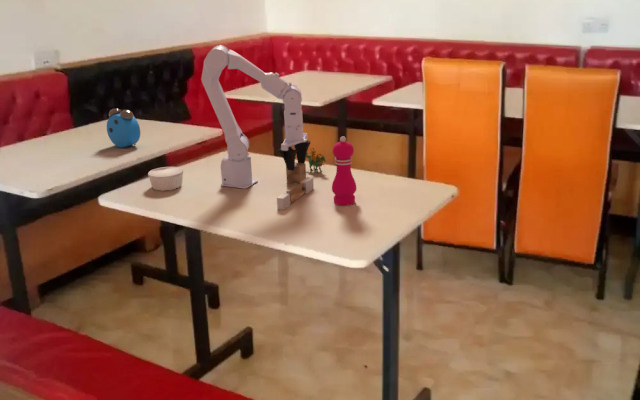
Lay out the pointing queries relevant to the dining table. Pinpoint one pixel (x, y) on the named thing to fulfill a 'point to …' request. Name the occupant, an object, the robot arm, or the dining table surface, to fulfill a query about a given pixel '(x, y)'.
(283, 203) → the wall frame
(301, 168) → the block
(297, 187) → the door
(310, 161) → the figurine
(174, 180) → the ramekin
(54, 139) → the dining table surface
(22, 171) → the dining table surface
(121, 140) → the alarm clock
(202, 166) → the dining table surface
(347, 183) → the pepper mill
